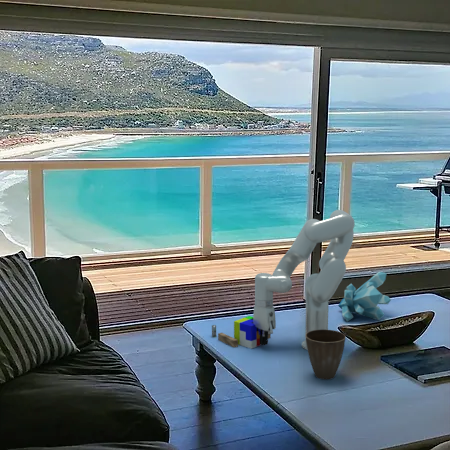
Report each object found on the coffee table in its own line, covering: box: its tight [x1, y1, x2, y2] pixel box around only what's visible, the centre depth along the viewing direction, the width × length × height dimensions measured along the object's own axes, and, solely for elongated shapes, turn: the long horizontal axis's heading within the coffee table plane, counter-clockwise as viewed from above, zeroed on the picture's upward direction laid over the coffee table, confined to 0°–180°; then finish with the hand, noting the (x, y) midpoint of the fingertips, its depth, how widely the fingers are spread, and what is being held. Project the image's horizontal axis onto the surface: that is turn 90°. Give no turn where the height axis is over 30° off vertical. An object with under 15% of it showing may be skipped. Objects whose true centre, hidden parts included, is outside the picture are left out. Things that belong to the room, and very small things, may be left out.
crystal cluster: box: [337, 271, 392, 322], centre depth 315 cm, size 22×26×21 cm
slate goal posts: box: [211, 324, 217, 338], centre depth 298 cm, size 2×20×5 cm, turn 125°
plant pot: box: [306, 329, 346, 381], centre depth 247 cm, size 15×15×16 cm
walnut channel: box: [217, 332, 272, 348], centre depth 289 cm, size 12×20×3 cm, turn 125°
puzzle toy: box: [233, 315, 266, 350], centre depth 283 cm, size 10×10×10 cm
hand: (263, 344), depth 278 cm, fingers closed
